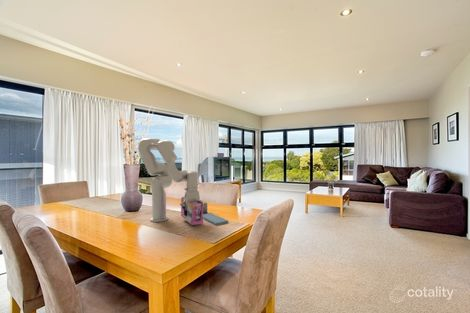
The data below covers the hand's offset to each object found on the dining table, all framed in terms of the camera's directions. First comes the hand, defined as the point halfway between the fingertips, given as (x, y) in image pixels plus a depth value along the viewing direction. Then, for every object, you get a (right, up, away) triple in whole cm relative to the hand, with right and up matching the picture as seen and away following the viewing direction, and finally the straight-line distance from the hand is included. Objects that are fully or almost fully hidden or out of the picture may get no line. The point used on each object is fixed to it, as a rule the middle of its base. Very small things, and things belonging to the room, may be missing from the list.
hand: (191, 214), depth 158 cm
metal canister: (+6, -5, +24) cm, 25 cm away
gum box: (0, -4, 0) cm, 4 cm away
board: (+14, -6, +7) cm, 17 cm away
